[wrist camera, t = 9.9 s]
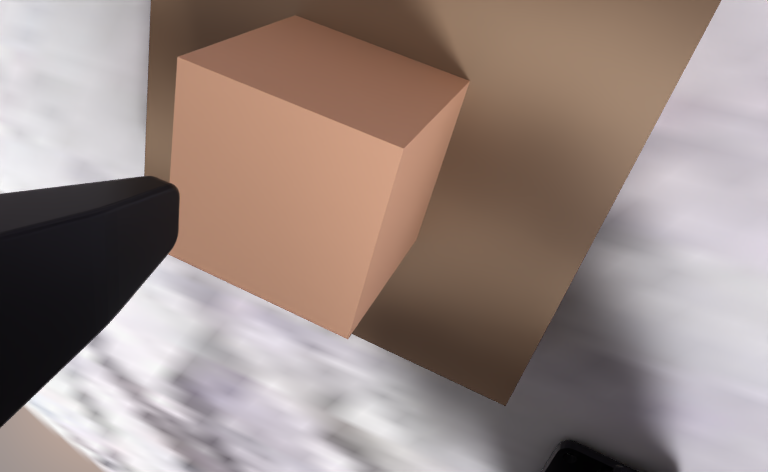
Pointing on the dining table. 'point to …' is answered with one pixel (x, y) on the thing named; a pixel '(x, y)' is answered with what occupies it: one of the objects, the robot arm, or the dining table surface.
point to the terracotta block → (306, 164)
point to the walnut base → (484, 151)
